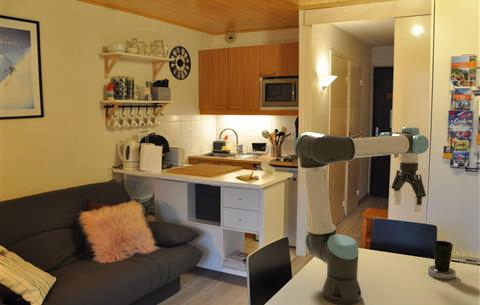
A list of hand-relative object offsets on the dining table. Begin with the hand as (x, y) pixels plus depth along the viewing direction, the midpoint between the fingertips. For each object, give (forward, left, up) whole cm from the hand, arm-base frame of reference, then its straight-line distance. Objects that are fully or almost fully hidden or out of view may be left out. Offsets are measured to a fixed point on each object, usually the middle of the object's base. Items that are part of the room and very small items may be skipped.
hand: (407, 208), depth 193 cm
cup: (+11, -11, -26) cm, 30 cm away
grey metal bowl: (+11, -11, -29) cm, 33 cm away
